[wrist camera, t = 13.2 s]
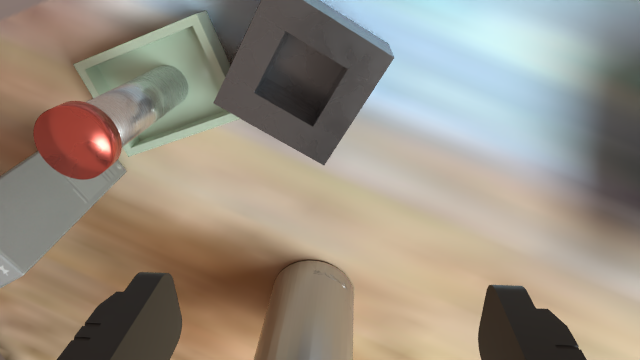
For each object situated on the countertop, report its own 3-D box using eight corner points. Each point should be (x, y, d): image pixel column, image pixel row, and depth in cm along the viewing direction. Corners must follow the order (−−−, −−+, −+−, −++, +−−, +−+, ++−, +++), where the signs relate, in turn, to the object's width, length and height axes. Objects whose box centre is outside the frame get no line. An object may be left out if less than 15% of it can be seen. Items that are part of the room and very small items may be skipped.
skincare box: (85, 118, 41) (-58, 197, 27) (135, 176, 43) (27, 277, 29) (28, 157, 43) (-131, 249, 29) (78, 210, 46) (-47, 318, 32)
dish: (140, 146, 42) (128, 156, 39) (89, 58, 38) (73, 64, 36) (249, 109, 39) (243, 117, 37) (206, 10, 35) (196, 13, 33)
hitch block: (328, 138, 40) (324, 165, 34) (233, 84, 38) (213, 103, 33) (388, 44, 35) (394, 57, 30) (284, -22, 34) (270, -21, 28)
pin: (183, 119, 39) (97, 192, 26) (137, 93, 38) (26, 156, 26) (201, 76, 37) (119, 133, 24) (153, 49, 37) (42, 92, 24)
